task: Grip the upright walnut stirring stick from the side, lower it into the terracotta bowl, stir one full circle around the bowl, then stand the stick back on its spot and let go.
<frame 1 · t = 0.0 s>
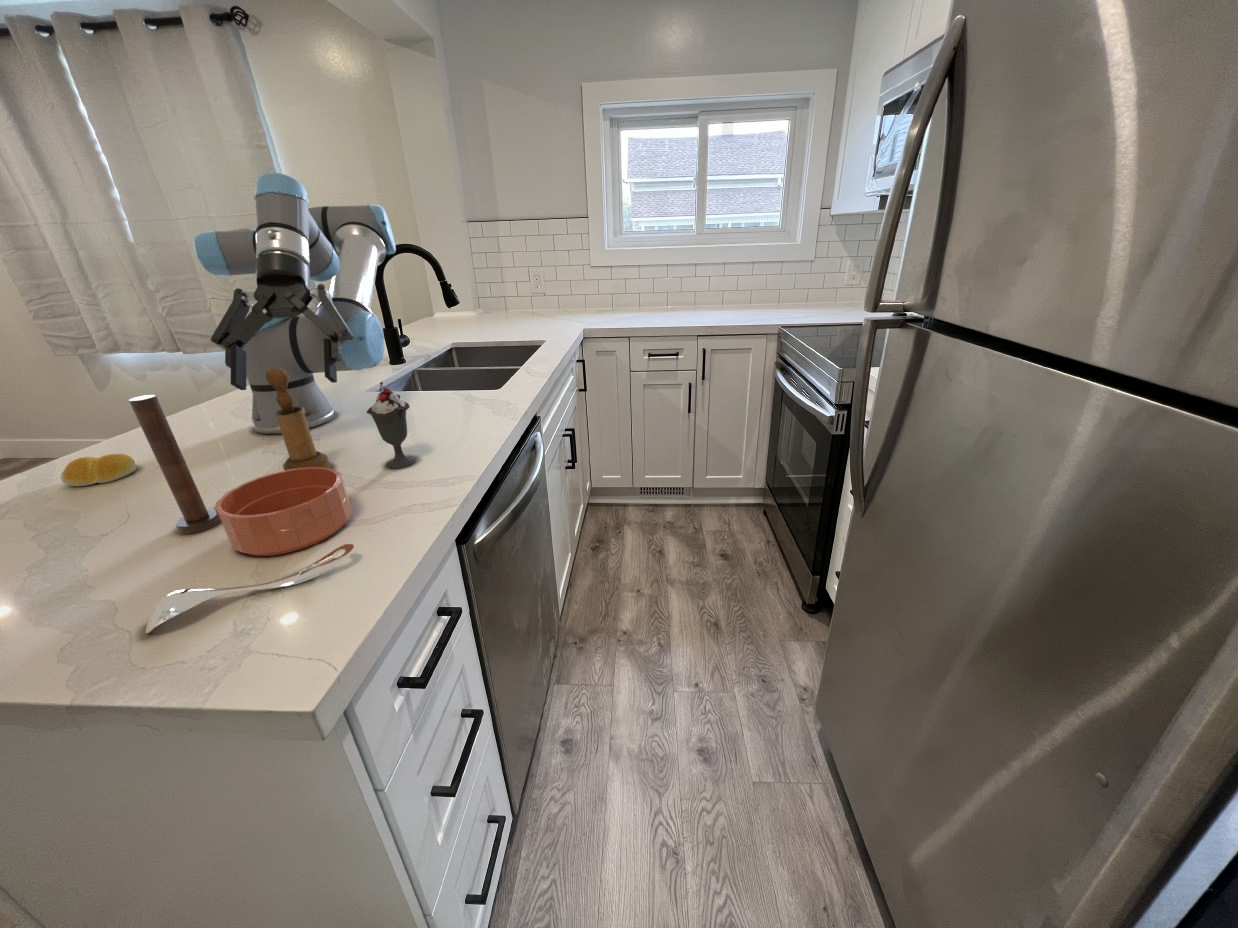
hand: (285, 383, 79), 15 cm above the counter, tool tilted 35°, fingers open, 13 cm apart
metal spatula: (262, 592, 56), on the counter
sundae: (401, 463, 87), on the counter
stick: (200, 524, 70), on the counter
bread roll: (103, 478, 86), on the counter
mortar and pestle: (309, 473, 85), on the counter
bowl: (295, 528, 68), on the counter
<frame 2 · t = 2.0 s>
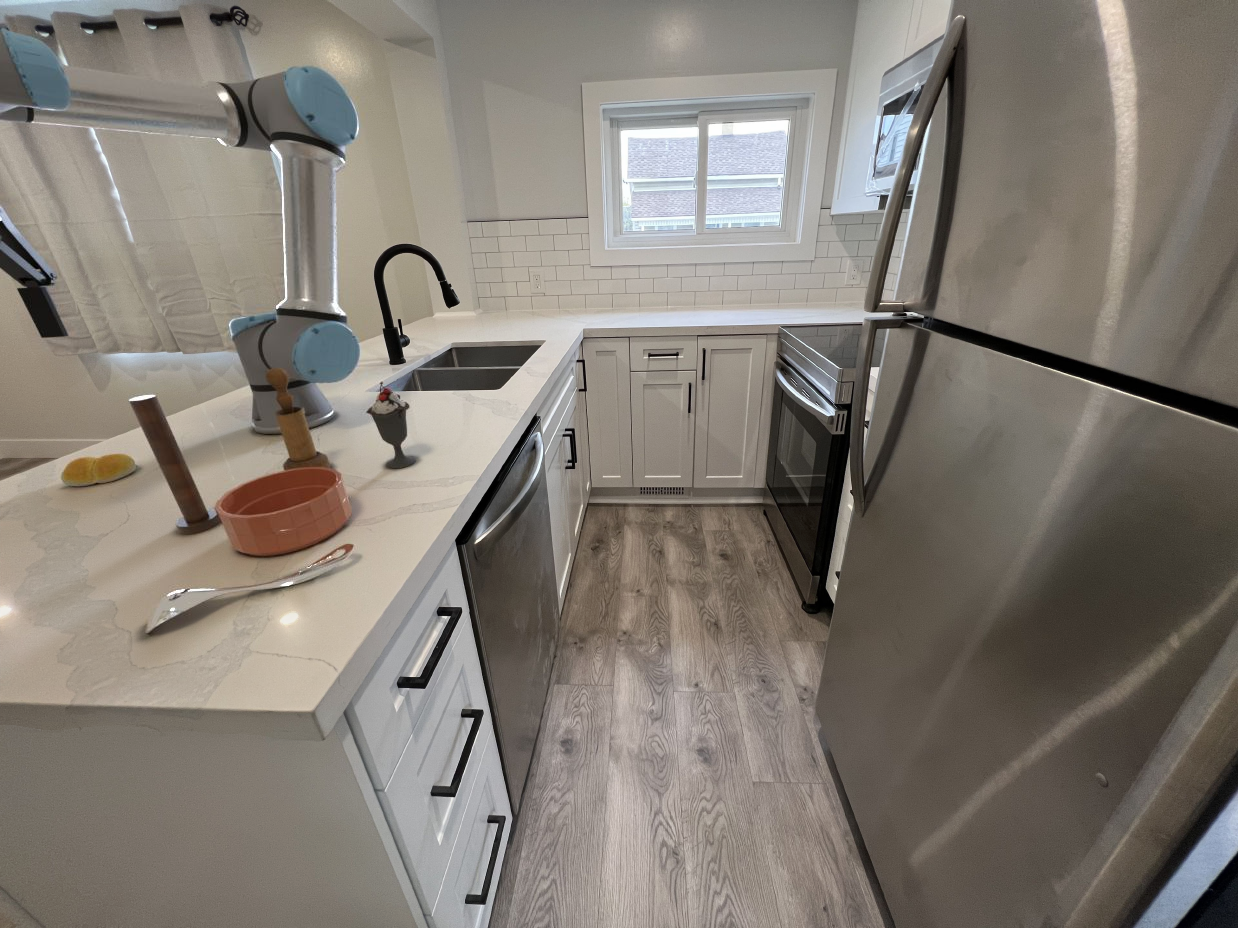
hand: (11, 346, 63), 25 cm above the counter, tool pointing down, fingers open, 13 cm apart
nothing on the counter moved.
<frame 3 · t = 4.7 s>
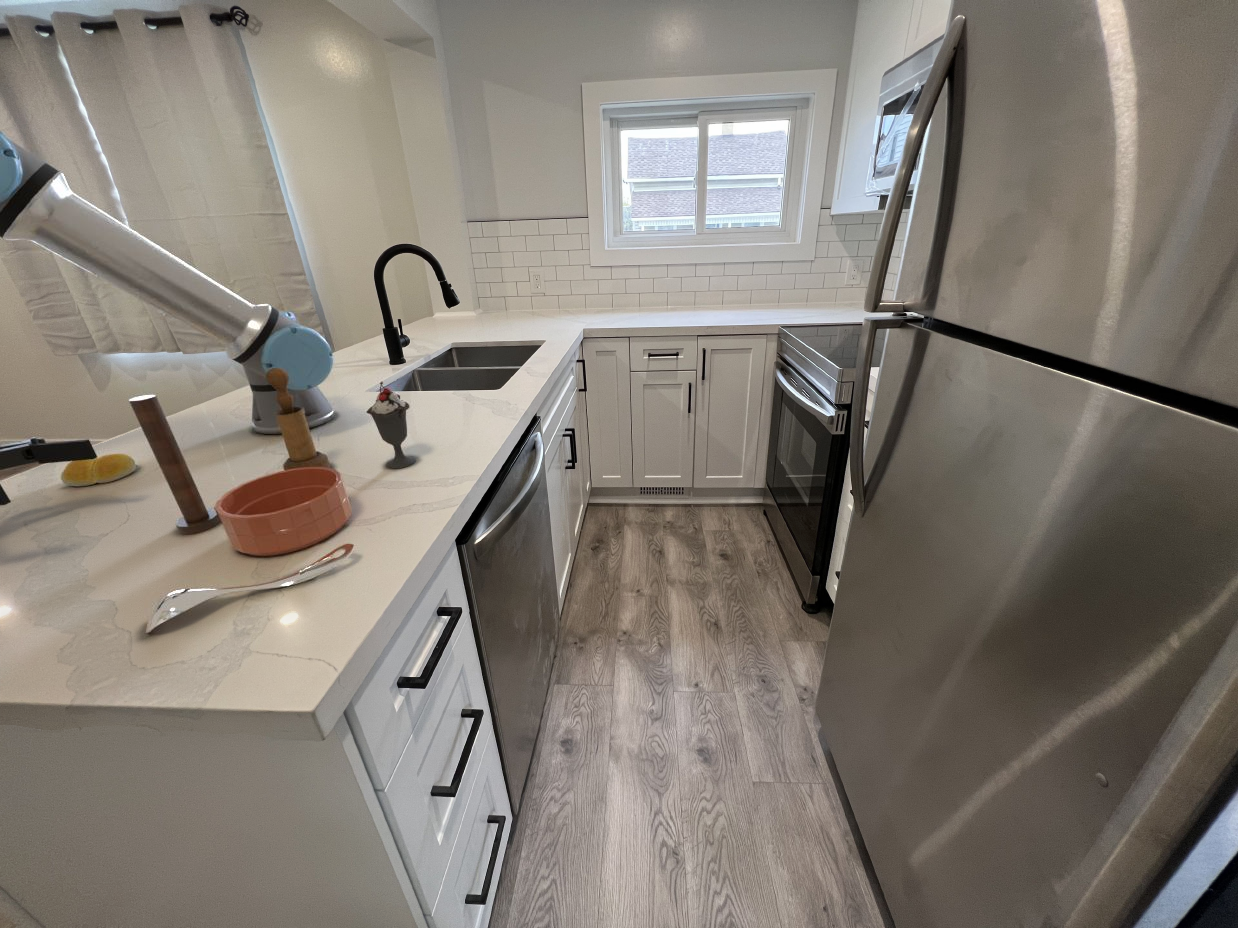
hand: (51, 469, 63), 10 cm above the counter, tool horizontal, fingers open, 13 cm apart
nothing on the counter moved.
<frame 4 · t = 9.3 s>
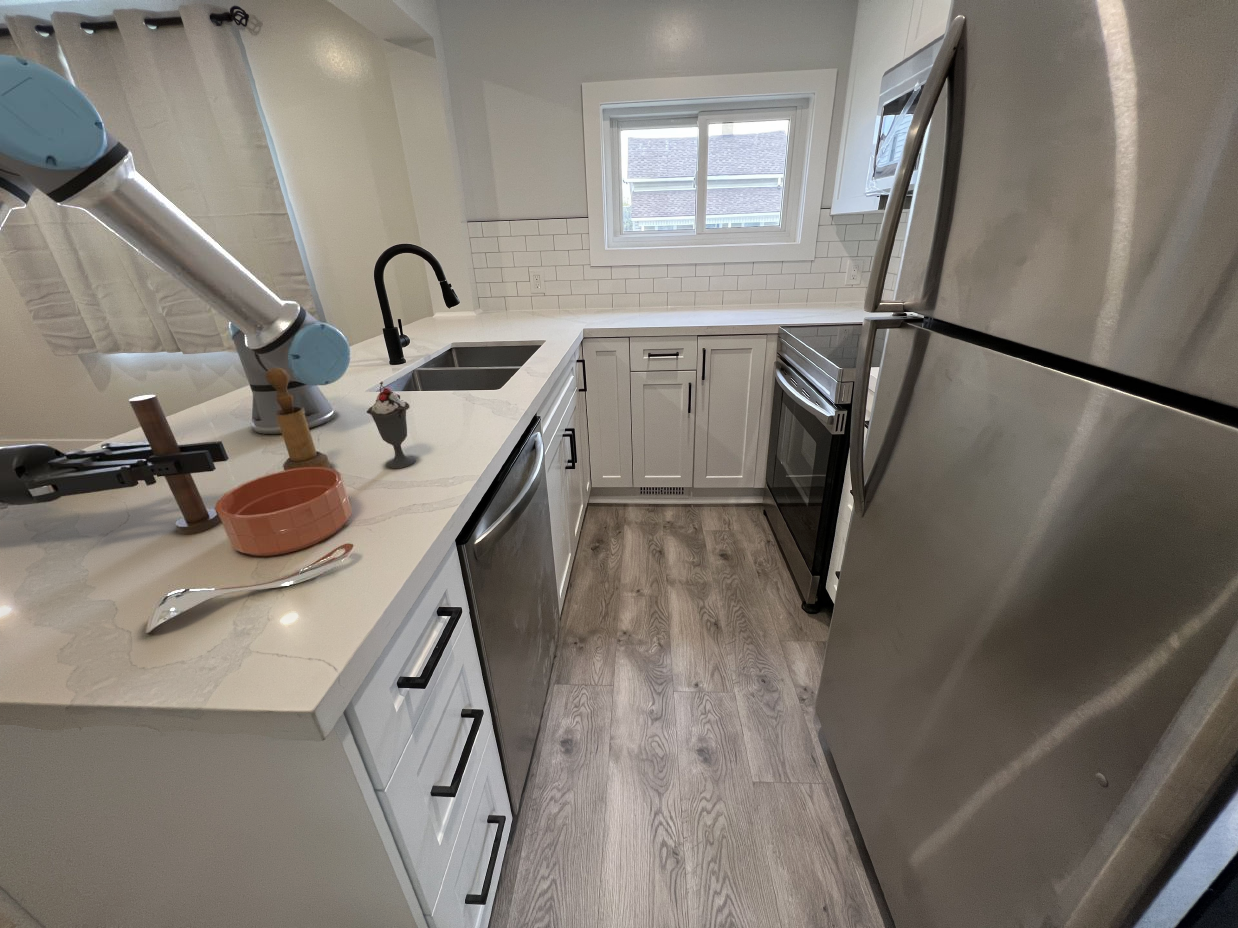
hand: (216, 455, 66), 10 cm above the counter, tool horizontal, fingers closed on stick, 3 cm apart
stick: (200, 524, 70), on the counter, touching gripper
everything else where it was.
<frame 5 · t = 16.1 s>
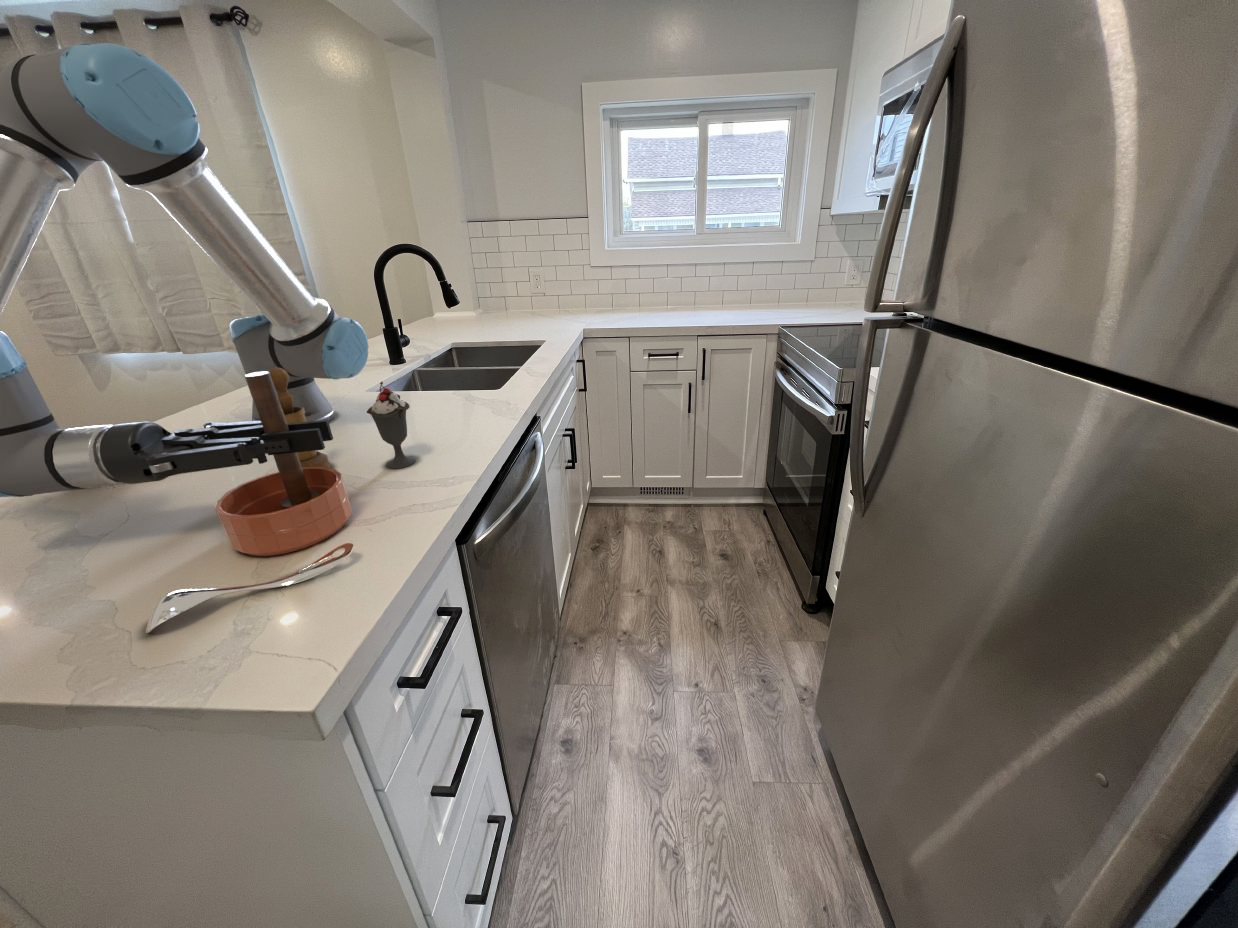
hand: (325, 434, 65), 12 cm above the counter, tool horizontal, fingers closed on stick, 3 cm apart
stick: (303, 506, 69), point 2 cm above the counter, touching gripper
everything else where it was.
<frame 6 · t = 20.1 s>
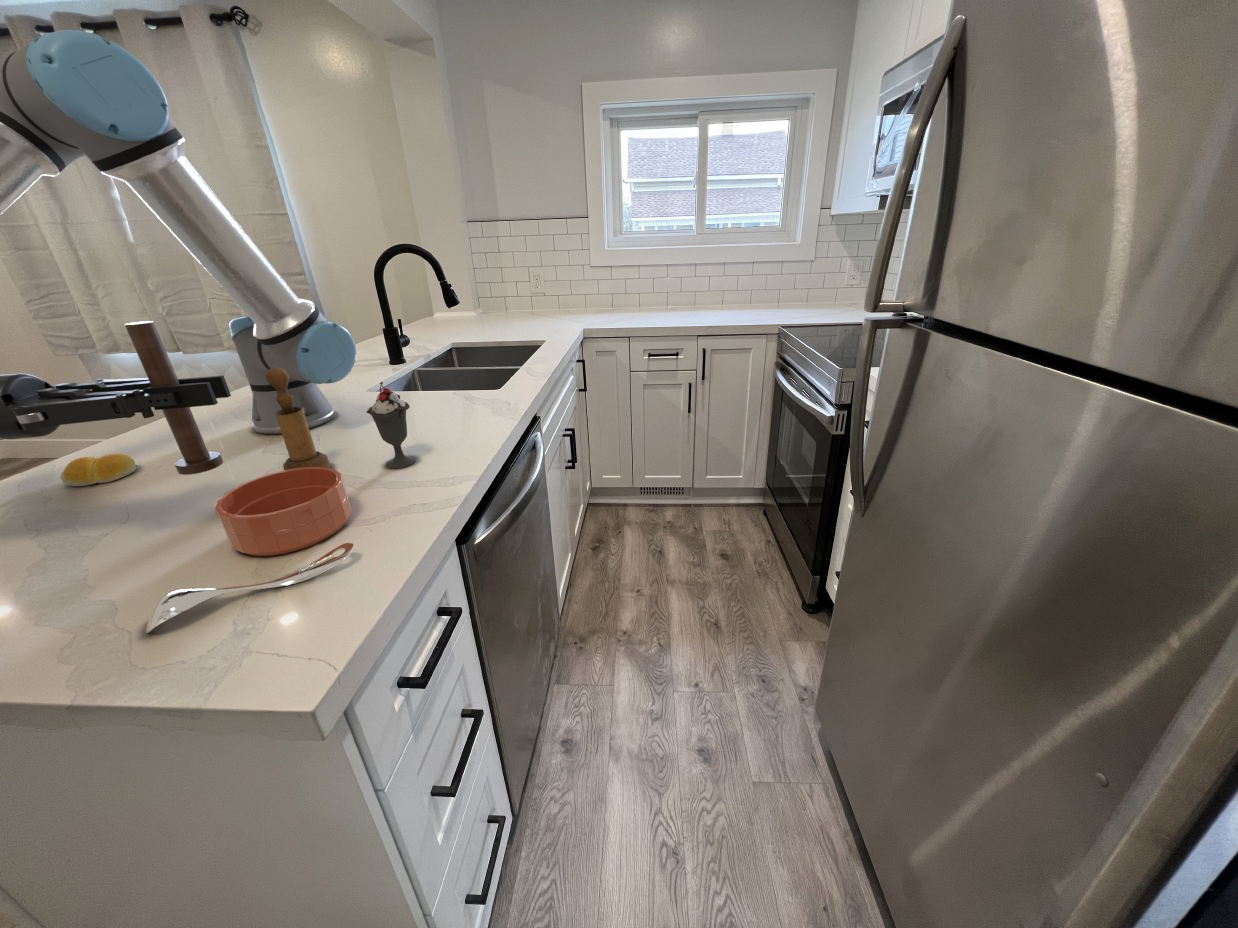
hand: (218, 389, 62), 19 cm above the counter, tool horizontal, fingers closed on stick, 3 cm apart
stick: (201, 466, 66), point 9 cm above the counter, touching gripper
everything else where it was.
when the fingers open (10 cm above the counter, at t = 23.2 s): stick stays where it is, on the counter.
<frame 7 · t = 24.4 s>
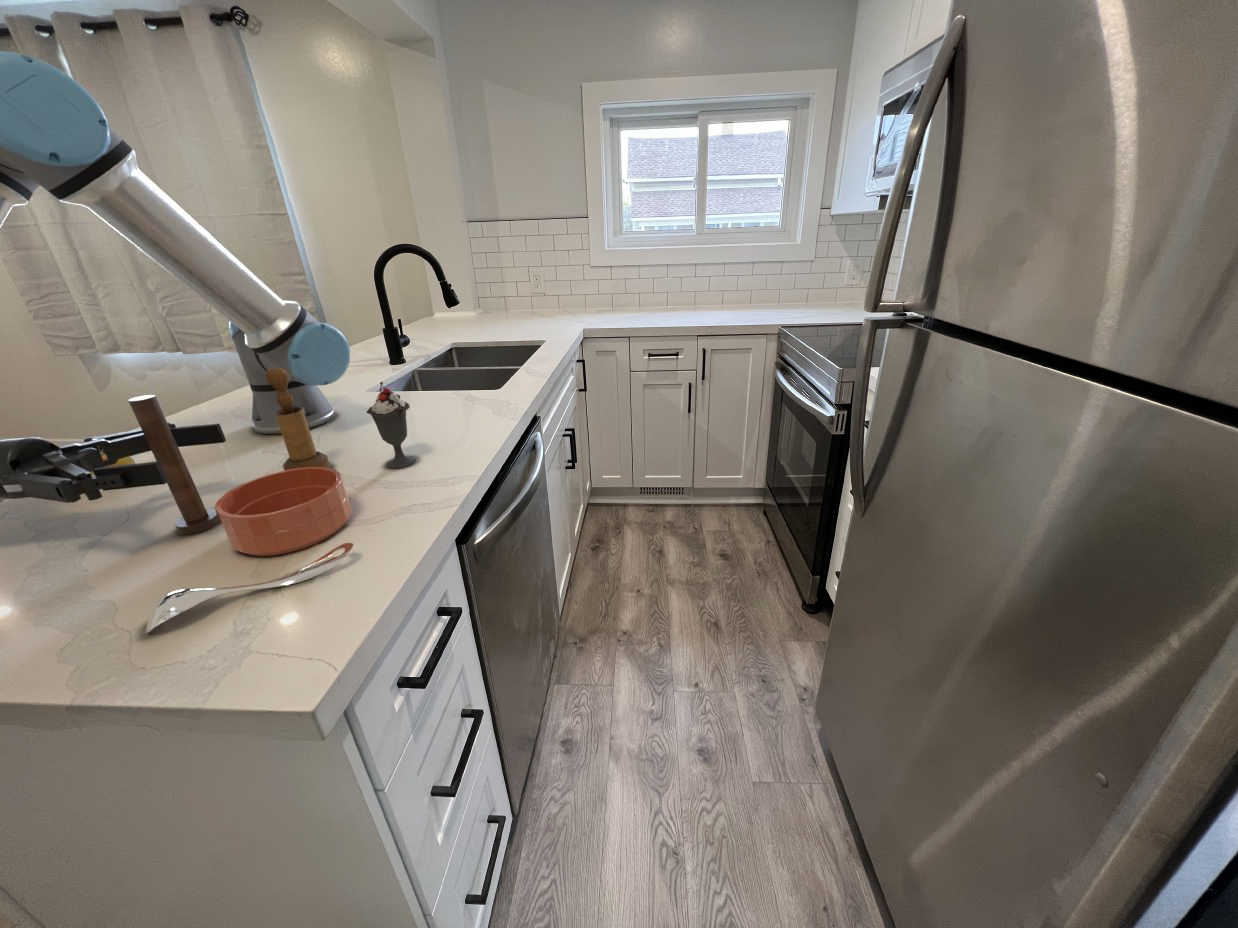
hand: (194, 451, 66), 11 cm above the counter, tool horizontal, fingers open, 13 cm apart
stick: (200, 525, 70), on the counter
everything else where it was.
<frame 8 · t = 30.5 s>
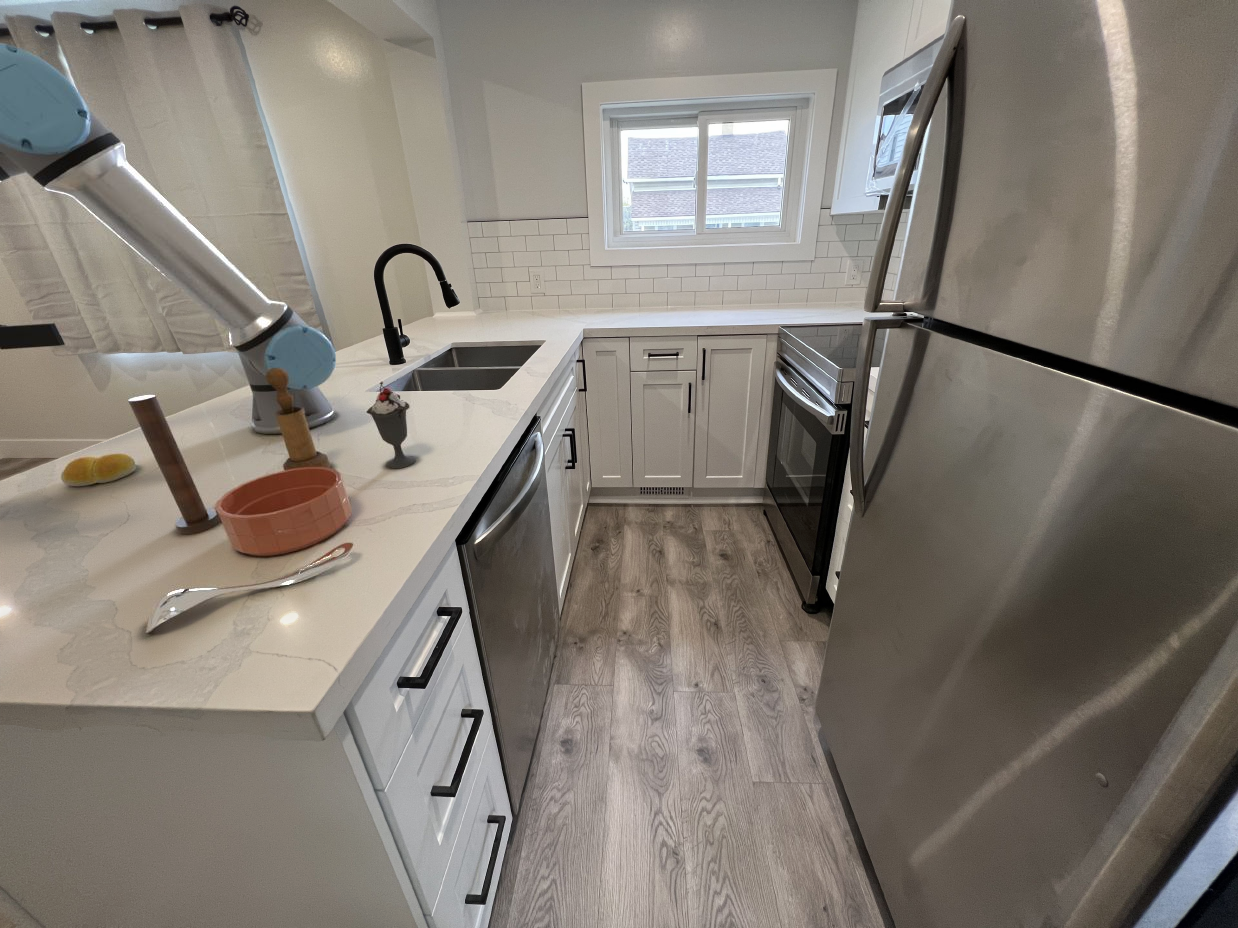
hand: (9, 344, 57), 26 cm above the counter, tool horizontal, fingers open, 13 cm apart
nothing on the counter moved.
at the end: stick inside the target area (0.1 cm from its centre), on the counter; stick tilted 0°; the gripper is holding nothing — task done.
